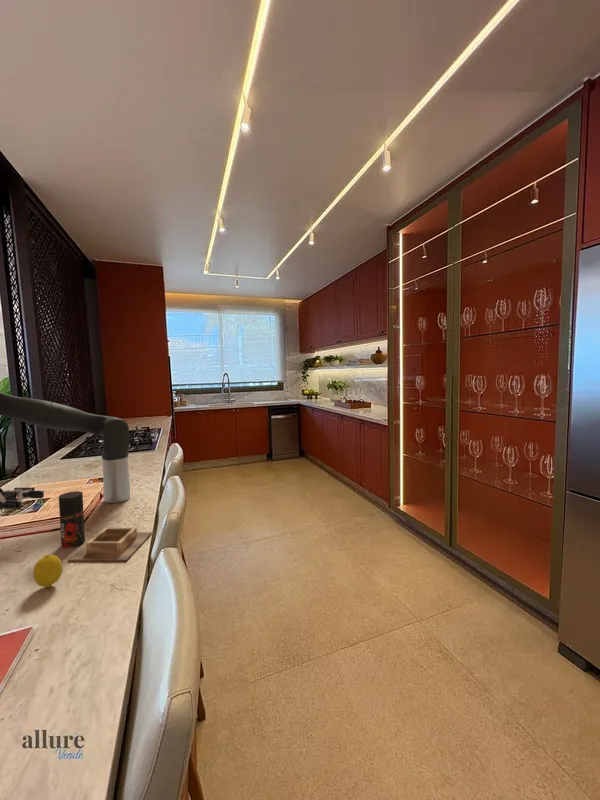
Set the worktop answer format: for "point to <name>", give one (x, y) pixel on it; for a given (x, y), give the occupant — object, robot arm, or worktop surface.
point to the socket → (111, 546)
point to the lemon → (47, 570)
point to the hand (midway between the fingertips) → (32, 499)
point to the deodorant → (71, 519)
